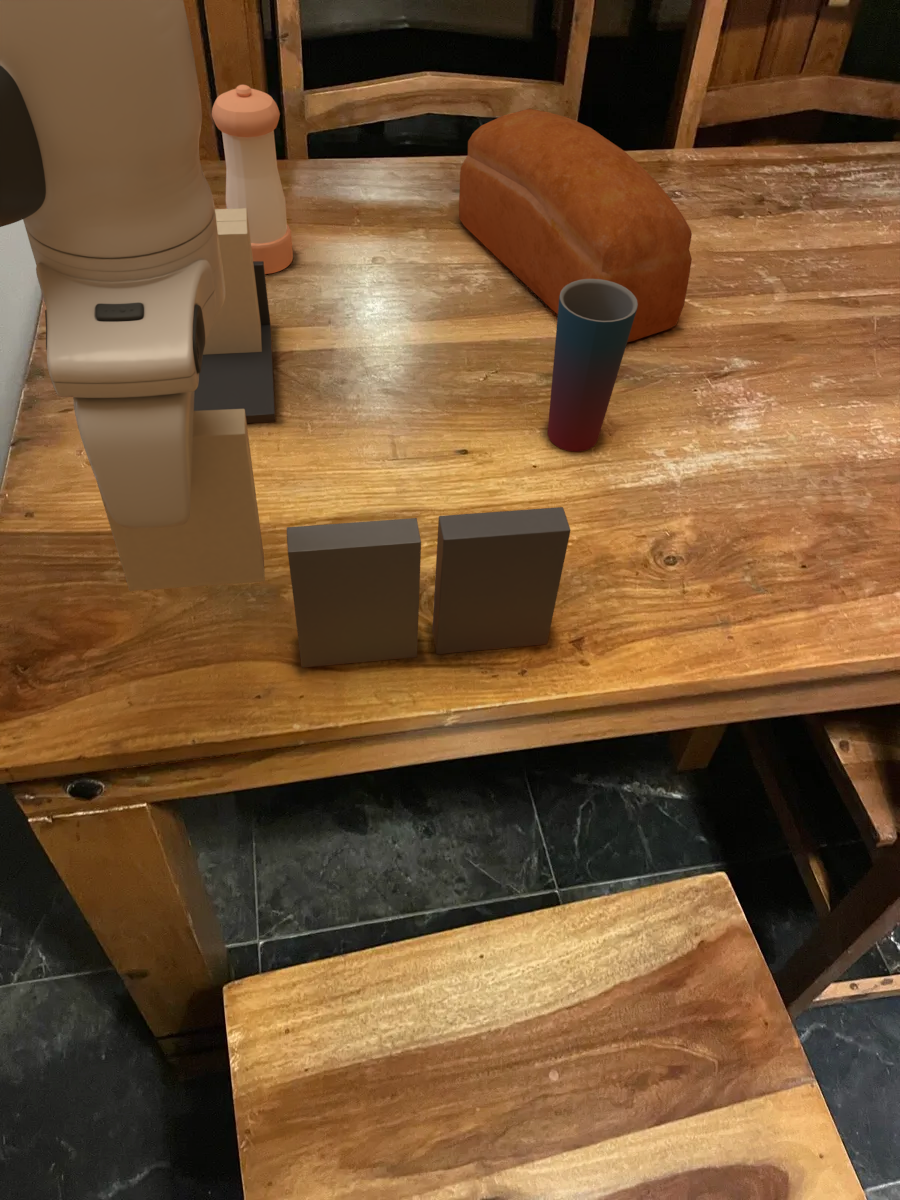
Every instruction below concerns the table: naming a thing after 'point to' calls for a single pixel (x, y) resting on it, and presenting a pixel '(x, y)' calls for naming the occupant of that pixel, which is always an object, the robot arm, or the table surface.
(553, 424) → the cup
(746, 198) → the table surface
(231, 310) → the book rack
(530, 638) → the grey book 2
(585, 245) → the bread
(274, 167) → the pepper shaker
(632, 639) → the table surface
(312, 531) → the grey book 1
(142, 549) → the brown flat block
